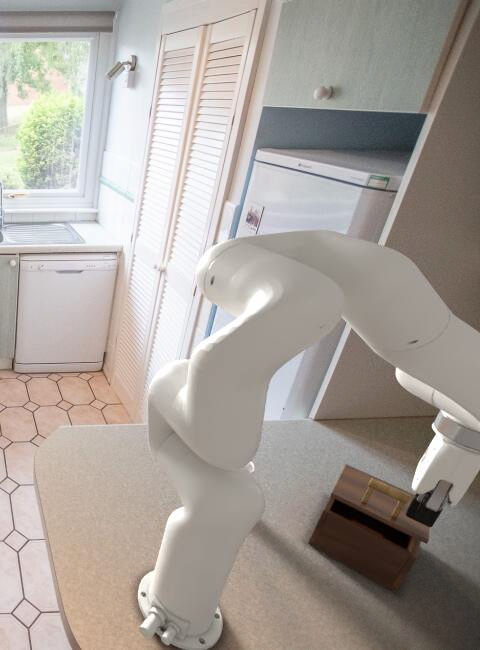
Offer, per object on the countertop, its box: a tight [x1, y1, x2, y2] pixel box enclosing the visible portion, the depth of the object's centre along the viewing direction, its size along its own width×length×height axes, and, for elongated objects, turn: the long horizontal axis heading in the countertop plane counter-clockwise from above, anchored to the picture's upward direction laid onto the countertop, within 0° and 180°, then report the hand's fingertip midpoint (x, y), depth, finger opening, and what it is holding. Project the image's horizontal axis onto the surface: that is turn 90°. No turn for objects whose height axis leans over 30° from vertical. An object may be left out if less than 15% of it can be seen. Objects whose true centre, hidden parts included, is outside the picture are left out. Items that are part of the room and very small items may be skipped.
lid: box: [329, 463, 431, 545], centre depth 80 cm, size 16×13×5 cm
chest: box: [307, 496, 422, 593], centre depth 84 cm, size 16×13×9 cm
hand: (418, 518), depth 74 cm, fingers closed
